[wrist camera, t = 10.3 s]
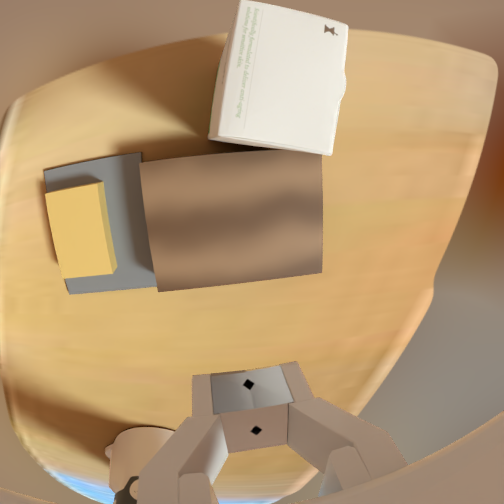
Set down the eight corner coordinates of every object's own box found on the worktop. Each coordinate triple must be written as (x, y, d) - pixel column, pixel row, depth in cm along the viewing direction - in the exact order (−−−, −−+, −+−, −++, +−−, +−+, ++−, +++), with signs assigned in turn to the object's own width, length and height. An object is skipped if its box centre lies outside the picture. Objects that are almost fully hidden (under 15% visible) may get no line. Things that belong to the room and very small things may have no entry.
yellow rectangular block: (62, 278, 28) (69, 271, 30) (112, 273, 29) (117, 266, 31) (44, 193, 25) (53, 190, 27) (97, 183, 26) (103, 181, 28)
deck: (309, 259, 34) (322, 272, 31) (162, 275, 32) (158, 292, 28) (306, 148, 30) (321, 148, 27) (147, 161, 28) (139, 163, 24)
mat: (159, 284, 32) (159, 286, 32) (70, 292, 31) (69, 294, 31) (141, 151, 28) (140, 152, 27) (45, 170, 26) (44, 171, 26)
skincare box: (218, 63, 26) (236, -10, 12) (284, 74, 27) (353, 20, 13) (206, 143, 29) (210, 136, 14) (272, 152, 30) (337, 157, 15)
